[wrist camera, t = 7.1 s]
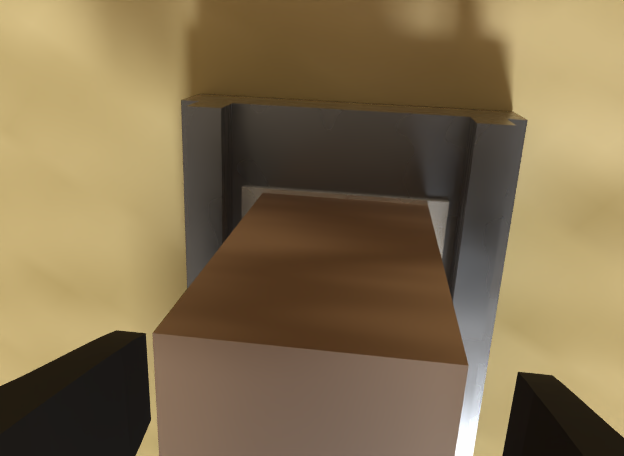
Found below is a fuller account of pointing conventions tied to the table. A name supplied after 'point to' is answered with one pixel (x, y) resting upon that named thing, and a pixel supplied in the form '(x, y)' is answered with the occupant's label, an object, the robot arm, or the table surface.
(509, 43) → the table surface
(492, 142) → the rail
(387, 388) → the walnut finger
